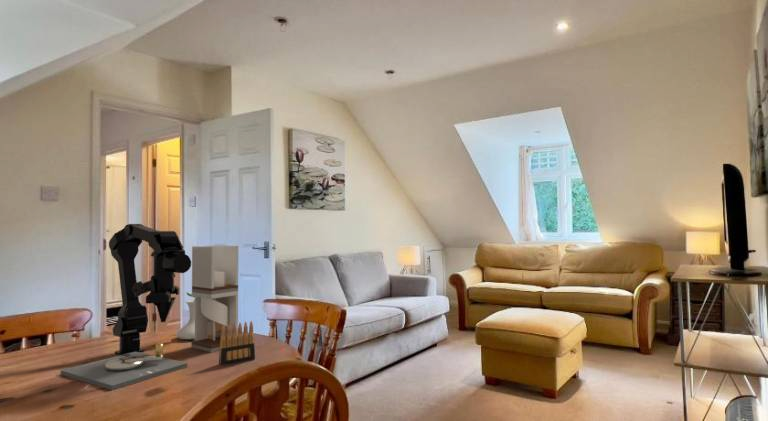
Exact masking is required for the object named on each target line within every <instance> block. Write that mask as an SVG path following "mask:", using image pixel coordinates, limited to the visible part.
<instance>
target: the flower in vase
mask: <svg viewBox="0 0 768 421" xmlns="http://www.w3.org/2000/svg"><path fill="white" fill-rule="evenodd" d="M186 295H187V296H189V297H191V298H195V296H192V293H189V292H186ZM185 303H186V305H187V306H188V310H189V318H188V322H187V323H186V324H184V325H183V326H182V327H181V328H180V329H179V330H178V331H177V332H176V334H175V335H176V337H177V338H178V339H181V340H195V299H192V300H185Z"/></svg>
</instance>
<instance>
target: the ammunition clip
mask: <svg viewBox="0 0 768 421" xmlns="http://www.w3.org/2000/svg"><path fill="white" fill-rule="evenodd" d="M248 329H249V330H248ZM255 348H256V347H255V333H254V324H253V321H252V320H251V321H250V323H249V328H248V323H247V321H245V322H244V325H243V327H242V323H241V322H238V336H237V332H236V325H235V323H234V325H233V330H232V338H231V328H230V325H229V324H228V327H227V336H226V337H225V327H224V325H222V328H221V338H220V350H219V353H218V354H219V356H218V357H219V358H218V360H219V361H218V365H219V366H227V365H232V364H237V363H243V362H248V361H253V360H256V353H255V352H256V351H255V350H256V349H255Z"/></svg>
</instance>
